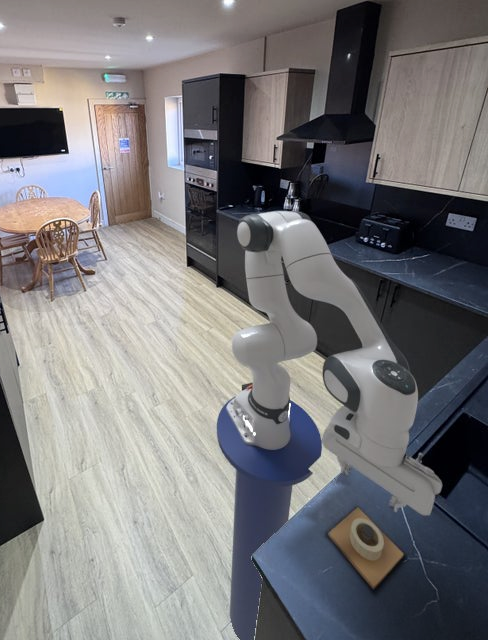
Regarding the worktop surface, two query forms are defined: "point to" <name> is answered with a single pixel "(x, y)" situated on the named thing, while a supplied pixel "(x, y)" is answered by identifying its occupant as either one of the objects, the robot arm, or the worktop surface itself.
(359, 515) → the peg stand
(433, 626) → the worktop surface
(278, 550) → the worktop surface
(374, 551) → the tape roll
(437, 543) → the worktop surface
